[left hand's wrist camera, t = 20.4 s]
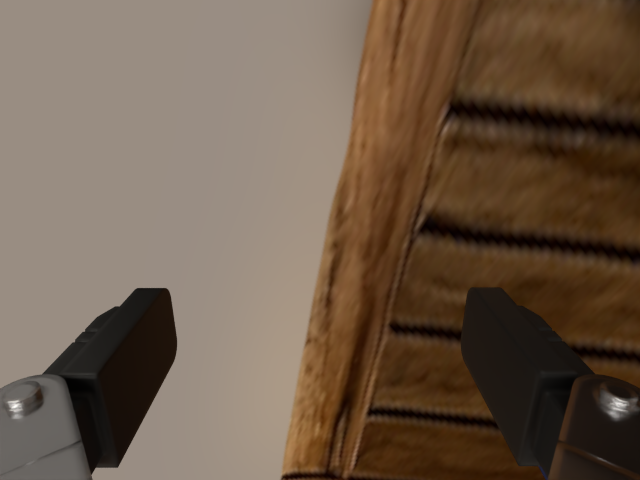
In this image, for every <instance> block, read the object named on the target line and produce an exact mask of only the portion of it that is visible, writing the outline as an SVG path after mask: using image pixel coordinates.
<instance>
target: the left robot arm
mask: <svg viewBox="0 0 640 480" xmlns="http://www.w3.org/2000/svg"><path fill="white" fill-rule="evenodd" d="M176 351H177V336H176V329H175V322H174V315H173V308H172V302H171V296H170V292H169V291H168V289H166V288H137V289H135V290H134V291H133V293H132V294H131V295H130V296H129V297H128V298H127V299H126V300H125V301H124V302H123V304H122V305H121V306H120V307H114V308H112V309H110V310H108V311H107V312H105V313H103V314H102V315H100V316H98V317H97V318H96V319H95V320H94V321H93V322H92V323H91V324H90V325H89V326H88V327H87V328H86V329H85V332H82V333H81V334H80V335H79V336H78V337H77V339H76V340H75V343H72V344H71V345H70V346H69V347H68V348H67V349H66V350H65V351H64V352H63V353H62V354H61V355H60V356H59V357H58V358H57V359H56V360H55V361H54V362H53V363H52V364H51V366H50V367H49V368H48V369H47V370H46V371H45V372H44V373H43V374H42V375H35V376H30V377H27V378H23V379H20V380H17V381H15V382H12V383H10V384H8V385H6V386H4V387H2V388H0V480H92V476H91V475H92V473H93V471H94V470H95V468H117V467H118V466H119V464H120V462H121V461H122V459H123V457H124V455H125V453H126V451H127V449H128V447H129V445H130V444H131V441H132V440H133V438H134V436H135V434H136V432H137V430H138V428H139V426H140V425H141V423H142V421H143V419H144V417H145V415H146V413H147V411H148V410H149V408H150V406H151V404H152V402H153V400H154V398H155V396H156V394H157V393H158V391H159V389H160V387H161V385H162V383H163V381H164V379H165V377H166V375H167V374H168V372H169V370H170V368H171V366H172V364H173V362H174V360H175V356H176ZM461 351H462V356H463V359H464V362H465V364H466V366H467V368H468V370H469V371H470V373H471V375H472V377H473V379H474V381H475V383H476V385H477V387H478V389H479V391H480V392H481V394H482V396H483V398H484V400H485V402H486V404H487V406H488V408H489V410H490V412H491V414H492V415H493V417H494V419H495V421H496V423H497V425H498V427H499V429H500V431H501V433H502V435H503V436H504V438H505V440H506V442H507V444H508V446H509V448H510V450H511V452H512V454H513V456H514V457H515V459H516V461H517V463H518V465H519V466H541V467H542V469H543V471H544V472H545V474H546V476H547V478H548V480H640V388H638V387H636V386H634V385H632V384H630V383H628V382H625V381H623V380H620V379H617V378H614V377H610V376H605V375H598V374H595V373H594V372H593V371H592V370H591V369H590V368H589V367H588V366H587V365H586V364H585V363H584V362H583V361H582V360H581V359H580V358H579V357H578V355H577V354H576V353H575V352H574V351H573V350H572V349H571V348H570V347H569V346H568V345H567V344H566V343H565V342H562V339H561V338H560V337H559V336H558V335H557V333H556V332H555V331H552V328H551V327H550V326H549V325H548V324H547V323H546V322H545V321H544V320H543V319H542V318H541V317H540V316H539V315H537V314H535V313H534V312H532V311H530V310H528V309H527V308H525V307H523V306H517V305H516V304H515V302H514V301H513V300H512V299H511V298H510V297H509V296H508V295H507V294H506V292H505V291H504V290H503V289H502V288H470V289H469V291H468V294H467V299H466V306H465V313H464V320H463V327H462V334H461Z"/></svg>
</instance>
